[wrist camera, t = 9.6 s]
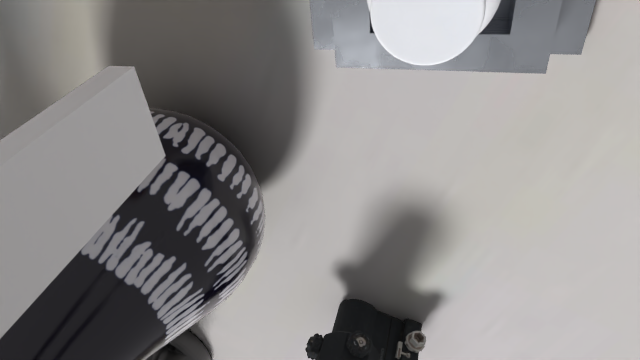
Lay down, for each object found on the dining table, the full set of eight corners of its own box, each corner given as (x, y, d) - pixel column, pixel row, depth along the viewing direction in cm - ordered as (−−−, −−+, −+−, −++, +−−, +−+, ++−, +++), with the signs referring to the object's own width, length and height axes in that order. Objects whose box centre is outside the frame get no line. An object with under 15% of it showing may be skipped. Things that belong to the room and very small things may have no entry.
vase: (270, 75, 32) (-208, 687, 10) (301, 238, 41) (96, 729, 19) (83, 72, 36) (-540, 489, 14) (150, 220, 46) (-156, 604, 24)
